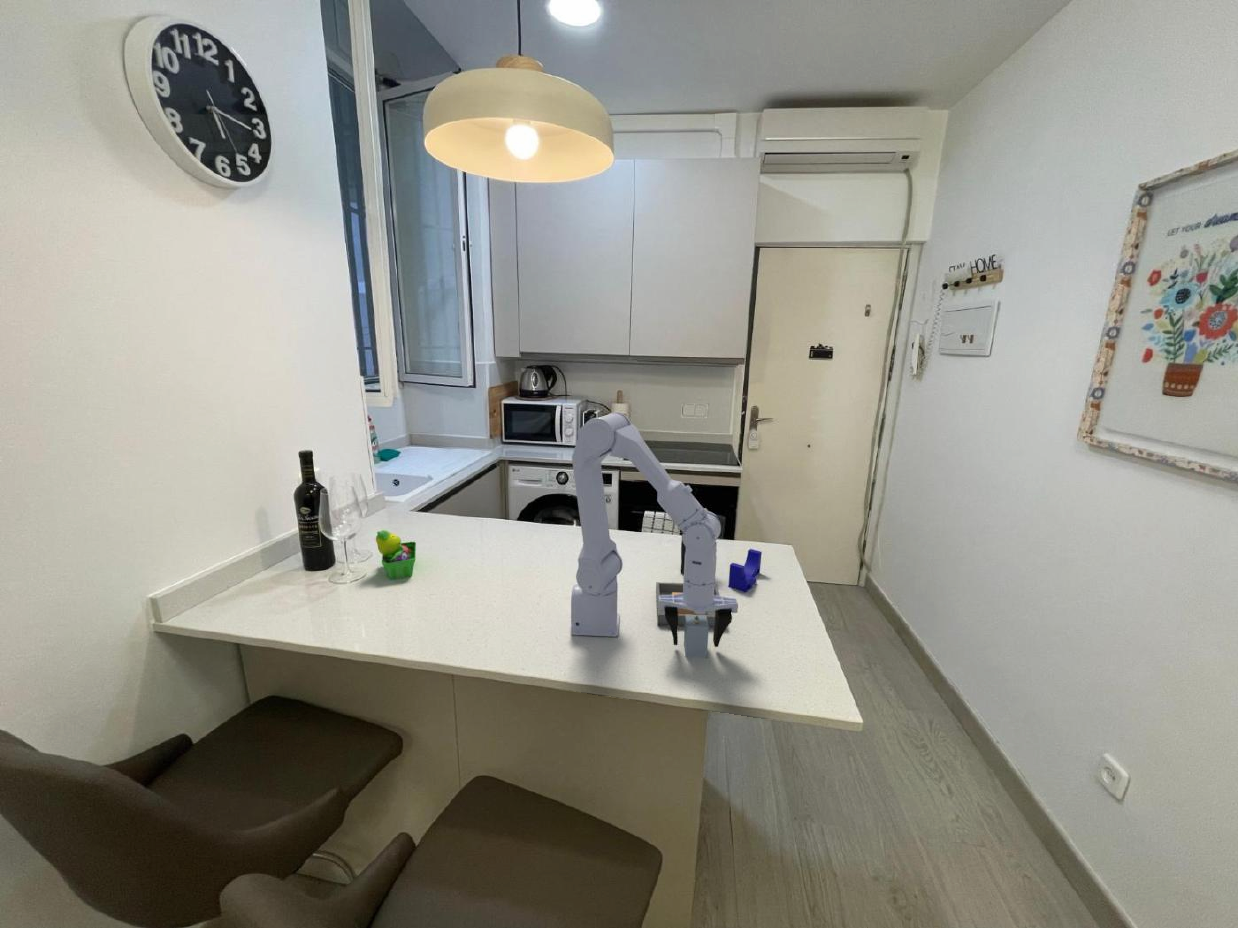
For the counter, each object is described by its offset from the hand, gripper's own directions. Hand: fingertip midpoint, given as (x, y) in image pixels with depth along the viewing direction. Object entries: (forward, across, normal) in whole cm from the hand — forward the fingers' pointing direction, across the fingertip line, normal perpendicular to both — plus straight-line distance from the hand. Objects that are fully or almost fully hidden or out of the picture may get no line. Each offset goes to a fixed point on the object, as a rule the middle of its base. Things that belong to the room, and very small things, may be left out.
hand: (695, 642), depth 94 cm
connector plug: (+2, 0, 0) cm, 2 cm away
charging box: (+2, 0, +15) cm, 15 cm away
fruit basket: (+2, -72, +28) cm, 77 cm away
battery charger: (+2, +3, +33) cm, 33 cm away
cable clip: (+2, +16, +30) cm, 34 cm away
